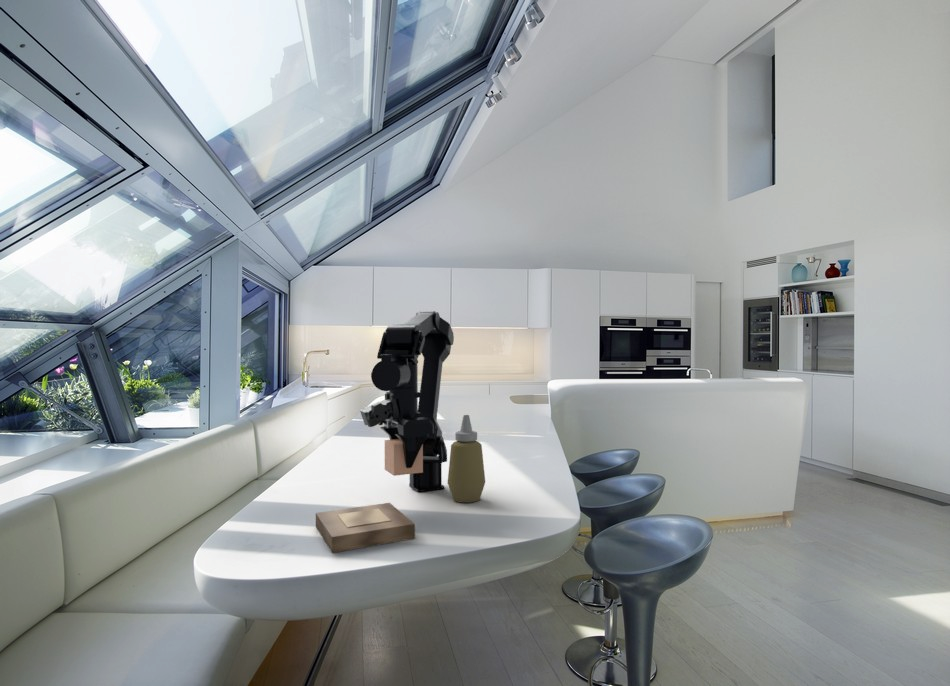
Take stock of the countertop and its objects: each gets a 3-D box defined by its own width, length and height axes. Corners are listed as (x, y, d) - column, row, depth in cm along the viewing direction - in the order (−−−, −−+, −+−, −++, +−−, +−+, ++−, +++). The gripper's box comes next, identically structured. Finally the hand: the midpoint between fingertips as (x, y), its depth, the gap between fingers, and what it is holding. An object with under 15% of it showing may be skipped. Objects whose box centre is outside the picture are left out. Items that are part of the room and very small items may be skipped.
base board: (389, 515, 106) (389, 501, 106) (414, 538, 93) (414, 522, 93) (315, 526, 100) (315, 512, 100) (332, 552, 87) (332, 536, 87)
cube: (412, 466, 114) (412, 437, 114) (422, 472, 109) (422, 442, 109) (384, 469, 111) (384, 440, 112) (393, 475, 106) (393, 444, 106)
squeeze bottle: (490, 496, 119) (490, 413, 119) (478, 506, 111) (478, 418, 111) (455, 493, 122) (455, 412, 122) (441, 503, 114) (441, 416, 114)
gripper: (352, 385, 115) (352, 459, 115) (377, 392, 98) (378, 479, 98) (402, 383, 120) (402, 455, 120) (435, 389, 103) (435, 472, 103)
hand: (403, 464), depth 110 cm, fingers closed on cube, 6 cm apart
